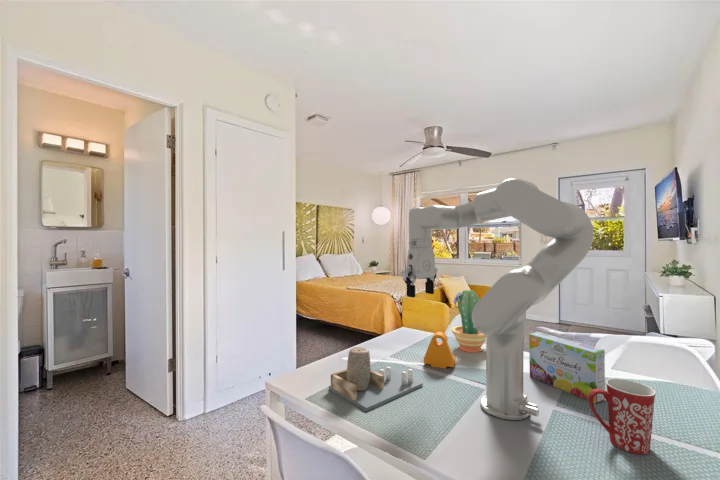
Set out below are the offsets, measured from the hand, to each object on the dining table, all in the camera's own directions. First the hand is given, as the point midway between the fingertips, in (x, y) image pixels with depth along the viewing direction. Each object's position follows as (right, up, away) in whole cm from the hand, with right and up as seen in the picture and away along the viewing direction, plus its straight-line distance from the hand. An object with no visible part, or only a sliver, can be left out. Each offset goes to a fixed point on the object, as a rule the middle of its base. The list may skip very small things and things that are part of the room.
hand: (420, 295), depth 113 cm
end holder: (-21, -28, -9) cm, 36 cm away
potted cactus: (+27, -28, +31) cm, 49 cm away
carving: (-21, -28, -9) cm, 36 cm away
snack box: (+44, -28, -7) cm, 53 cm away
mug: (+40, -29, -36) cm, 61 cm away
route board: (-15, -28, -6) cm, 33 cm away
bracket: (+10, -29, +14) cm, 33 cm away
